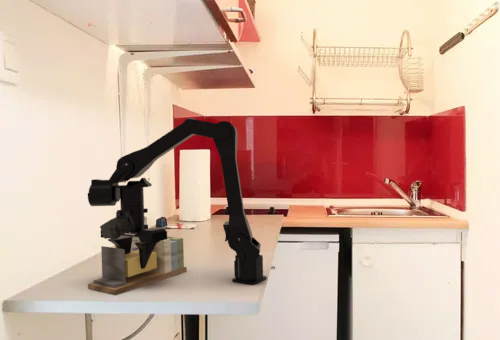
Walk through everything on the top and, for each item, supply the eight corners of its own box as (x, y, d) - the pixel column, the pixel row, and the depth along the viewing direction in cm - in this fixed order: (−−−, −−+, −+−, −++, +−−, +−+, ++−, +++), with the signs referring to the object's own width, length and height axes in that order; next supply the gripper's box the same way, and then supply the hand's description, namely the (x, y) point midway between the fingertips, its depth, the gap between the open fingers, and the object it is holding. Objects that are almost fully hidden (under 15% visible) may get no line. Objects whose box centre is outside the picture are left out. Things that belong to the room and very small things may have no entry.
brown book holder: (186, 271, 120) (185, 236, 120) (115, 295, 100) (114, 252, 100) (160, 267, 126) (159, 233, 125) (88, 288, 106) (86, 248, 106)
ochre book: (156, 267, 114) (156, 252, 114) (128, 277, 105) (127, 260, 105) (139, 265, 117) (139, 250, 117) (110, 274, 108) (110, 258, 108)
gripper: (81, 207, 109) (83, 269, 110) (132, 210, 99) (134, 279, 99) (117, 203, 119) (119, 260, 119) (167, 205, 108) (169, 268, 109)
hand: (134, 266), depth 111 cm, fingers closed on ochre book, 6 cm apart
